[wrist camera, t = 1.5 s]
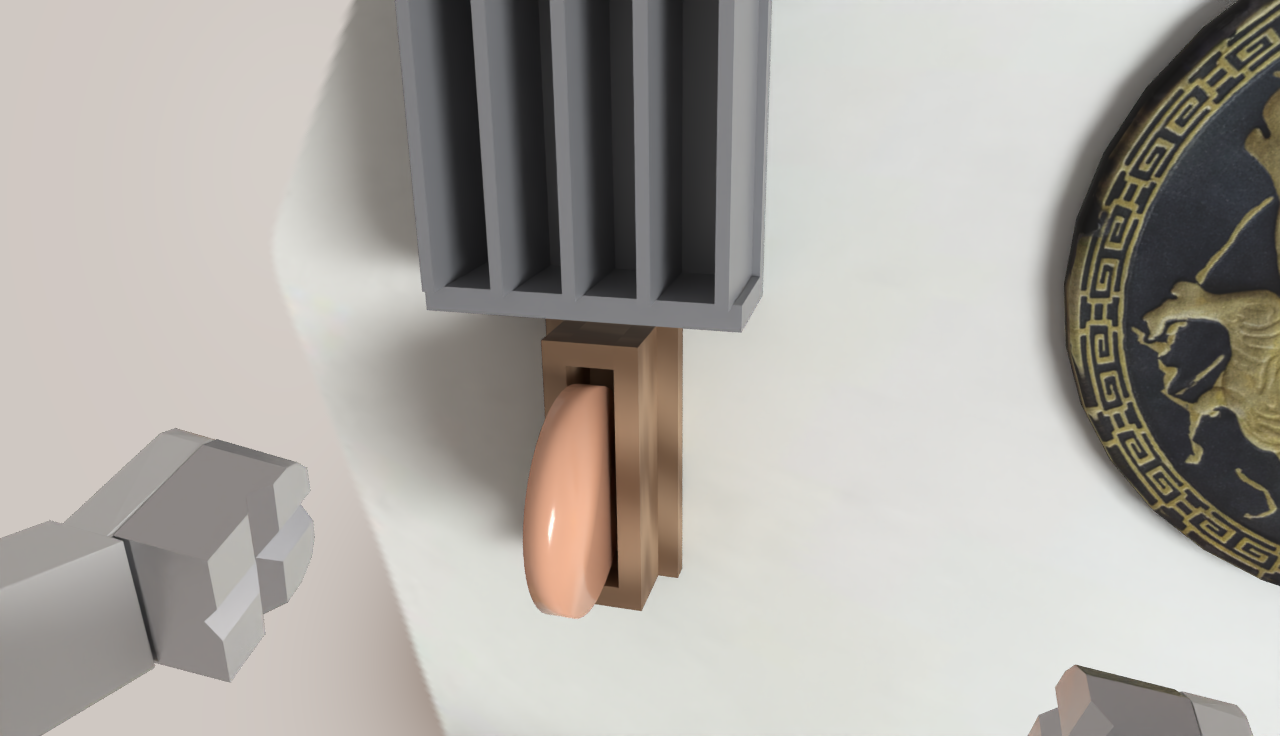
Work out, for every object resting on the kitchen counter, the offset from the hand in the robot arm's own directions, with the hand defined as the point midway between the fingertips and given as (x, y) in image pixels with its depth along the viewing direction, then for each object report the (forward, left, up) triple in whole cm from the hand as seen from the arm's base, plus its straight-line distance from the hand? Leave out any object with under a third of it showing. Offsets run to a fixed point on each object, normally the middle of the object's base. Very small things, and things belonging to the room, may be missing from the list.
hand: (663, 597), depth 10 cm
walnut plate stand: (-16, +12, -37) cm, 42 cm away
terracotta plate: (-16, +12, -30) cm, 36 cm away
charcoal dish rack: (+1, +12, -37) cm, 39 cm away
